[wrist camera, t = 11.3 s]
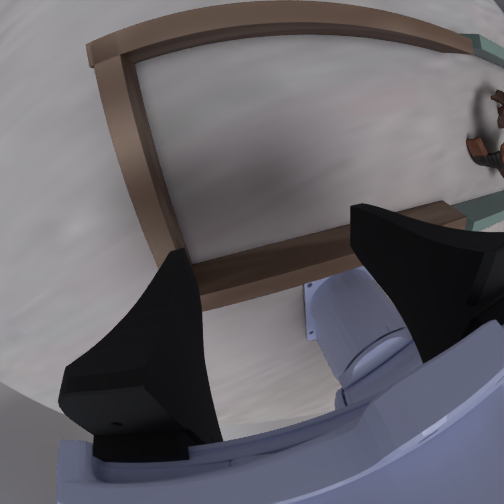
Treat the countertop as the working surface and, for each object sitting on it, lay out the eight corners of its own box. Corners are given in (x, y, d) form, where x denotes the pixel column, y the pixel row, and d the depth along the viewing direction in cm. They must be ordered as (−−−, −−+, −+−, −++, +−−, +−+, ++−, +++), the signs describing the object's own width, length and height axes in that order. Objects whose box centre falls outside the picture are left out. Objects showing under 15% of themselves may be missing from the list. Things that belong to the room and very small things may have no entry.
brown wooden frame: (440, 212, 25) (464, 229, 22) (177, 284, 23) (177, 317, 19) (440, 38, 15) (471, 39, 11) (105, 53, 12) (85, 44, 9)
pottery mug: (450, 124, 20) (512, 105, 12) (458, 89, 22) (506, 71, 14) (490, 207, 23) (544, 203, 16) (496, 162, 25) (540, 154, 17)
